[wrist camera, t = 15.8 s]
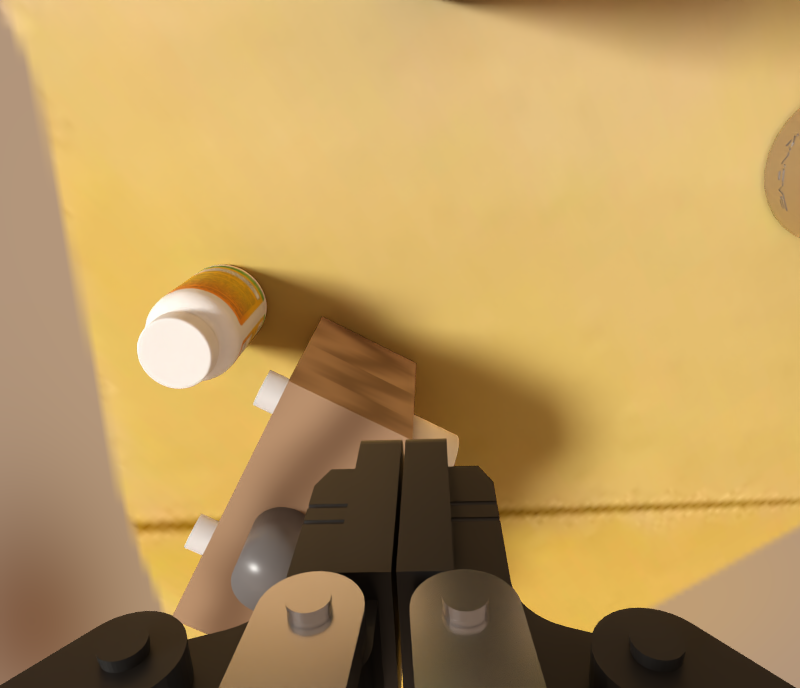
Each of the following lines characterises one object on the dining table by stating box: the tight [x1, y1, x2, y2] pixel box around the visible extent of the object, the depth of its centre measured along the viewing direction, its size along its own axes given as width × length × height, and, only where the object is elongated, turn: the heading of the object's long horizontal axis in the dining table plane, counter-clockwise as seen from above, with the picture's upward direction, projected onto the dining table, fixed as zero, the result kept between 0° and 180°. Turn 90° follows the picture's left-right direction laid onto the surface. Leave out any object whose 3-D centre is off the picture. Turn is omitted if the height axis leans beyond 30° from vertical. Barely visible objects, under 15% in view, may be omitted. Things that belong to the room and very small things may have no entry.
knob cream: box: [253, 370, 459, 467], centre depth 38 cm, size 12×5×5 cm, turn 63°
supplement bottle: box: [137, 265, 267, 389], centre depth 39 cm, size 5×5×10 cm
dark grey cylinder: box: [231, 507, 305, 611], centre depth 34 cm, size 4×4×4 cm
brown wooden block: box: [173, 317, 416, 634], centre depth 41 cm, size 7×17×11 cm, turn 153°
